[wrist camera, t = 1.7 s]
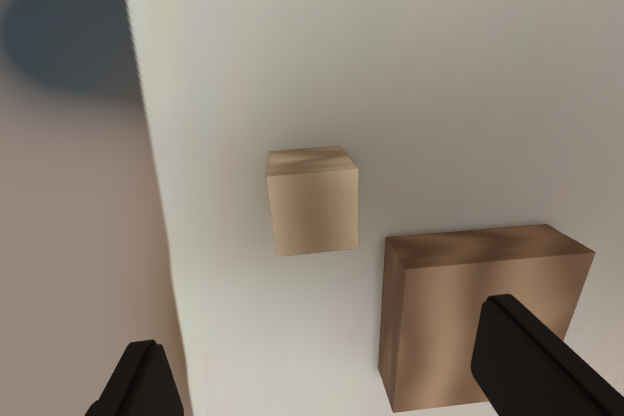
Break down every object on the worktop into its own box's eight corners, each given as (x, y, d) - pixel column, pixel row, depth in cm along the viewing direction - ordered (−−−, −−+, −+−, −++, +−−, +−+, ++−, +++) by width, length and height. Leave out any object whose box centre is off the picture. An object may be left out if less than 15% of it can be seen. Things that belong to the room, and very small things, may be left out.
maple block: (339, 145, 23) (358, 168, 17) (341, 209, 25) (358, 248, 19) (269, 151, 22) (266, 176, 17) (276, 215, 24) (275, 256, 19)
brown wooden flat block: (542, 222, 27) (595, 252, 23) (507, 350, 33) (543, 394, 29) (384, 235, 26) (405, 269, 22) (377, 364, 32) (392, 412, 28)
